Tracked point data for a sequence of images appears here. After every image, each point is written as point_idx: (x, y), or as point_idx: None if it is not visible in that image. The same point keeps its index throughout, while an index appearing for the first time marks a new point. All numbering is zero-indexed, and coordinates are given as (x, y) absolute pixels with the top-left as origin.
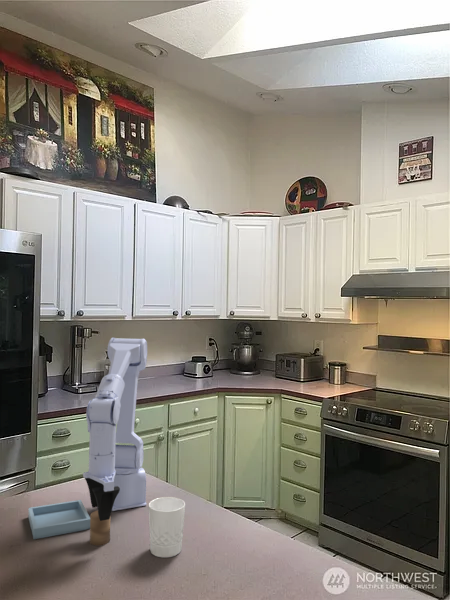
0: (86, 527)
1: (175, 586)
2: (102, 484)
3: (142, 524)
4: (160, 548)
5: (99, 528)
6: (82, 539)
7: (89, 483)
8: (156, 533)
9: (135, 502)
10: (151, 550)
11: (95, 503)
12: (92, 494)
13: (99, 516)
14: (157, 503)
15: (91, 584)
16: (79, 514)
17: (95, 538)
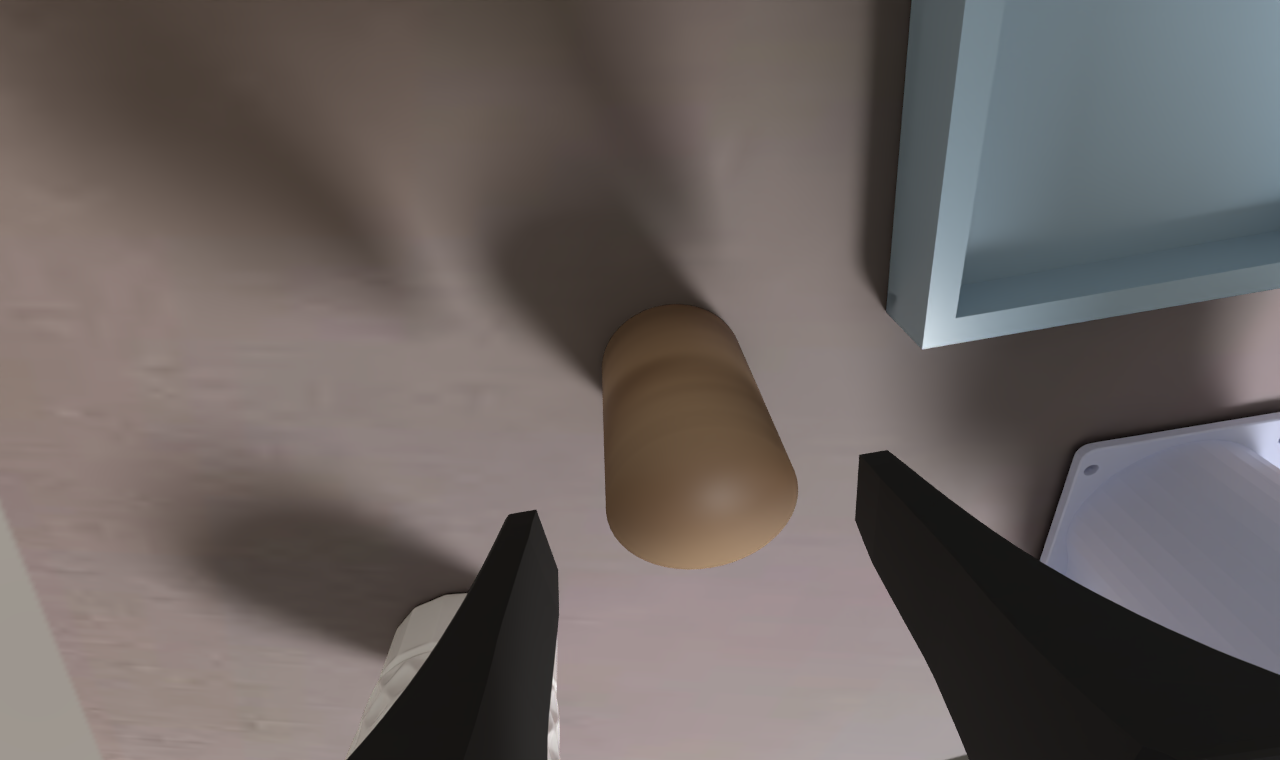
0: (895, 290)
1: (128, 648)
2: (983, 750)
3: (802, 574)
4: (388, 663)
5: (605, 436)
6: (735, 253)
7: (1055, 690)
8: (361, 737)
9: (1074, 576)
10: (440, 608)
11: (875, 502)
12: (936, 562)
13: (493, 544)
14: None
15: (53, 309)
16: (1170, 237)
17: (613, 365)
